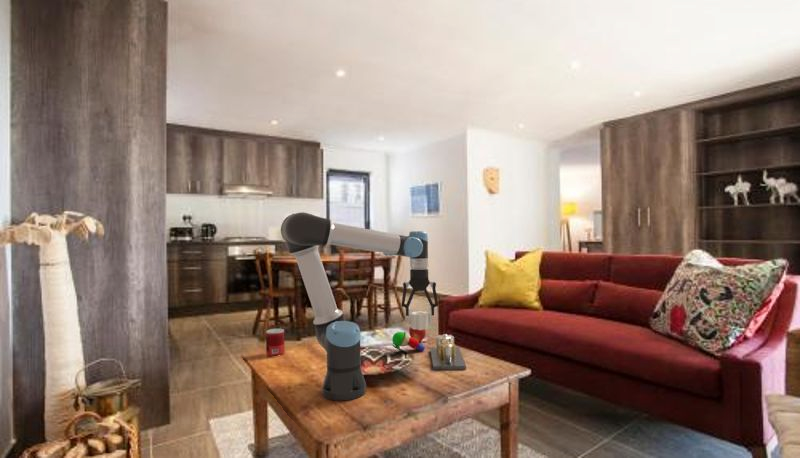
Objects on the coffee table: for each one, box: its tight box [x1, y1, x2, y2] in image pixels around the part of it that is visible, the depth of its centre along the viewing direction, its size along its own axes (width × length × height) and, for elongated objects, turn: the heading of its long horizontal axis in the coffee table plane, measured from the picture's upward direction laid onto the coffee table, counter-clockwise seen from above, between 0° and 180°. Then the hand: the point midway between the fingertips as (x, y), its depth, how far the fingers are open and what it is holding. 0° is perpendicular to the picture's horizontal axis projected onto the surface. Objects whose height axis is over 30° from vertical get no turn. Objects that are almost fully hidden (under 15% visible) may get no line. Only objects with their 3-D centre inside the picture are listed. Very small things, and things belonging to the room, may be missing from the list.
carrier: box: [430, 333, 467, 371], centre depth 173 cm, size 13×25×8 cm, turn 178°
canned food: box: [265, 328, 285, 357], centre depth 185 cm, size 8×8×11 cm
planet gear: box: [410, 310, 431, 331], centre depth 167 cm, size 8×8×6 cm
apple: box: [408, 326, 427, 342], centre depth 202 cm, size 8×8×10 cm
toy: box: [391, 331, 426, 352], centre depth 186 cm, size 8×8×15 cm
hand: (420, 323), depth 167 cm, fingers closed on planet gear, 8 cm apart
